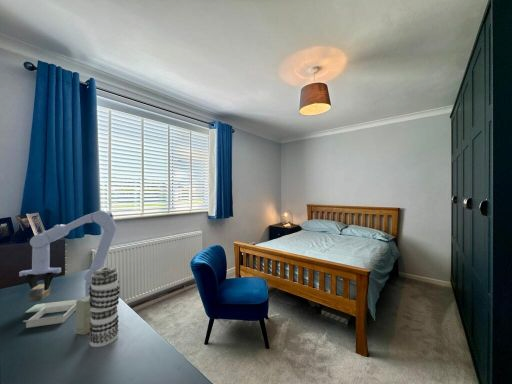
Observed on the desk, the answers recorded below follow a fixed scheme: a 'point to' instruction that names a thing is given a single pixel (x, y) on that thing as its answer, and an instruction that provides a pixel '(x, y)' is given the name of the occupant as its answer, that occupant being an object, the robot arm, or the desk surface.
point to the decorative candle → (104, 306)
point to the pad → (36, 308)
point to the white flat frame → (50, 308)
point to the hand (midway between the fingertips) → (40, 290)
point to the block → (38, 293)
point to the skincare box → (83, 315)
